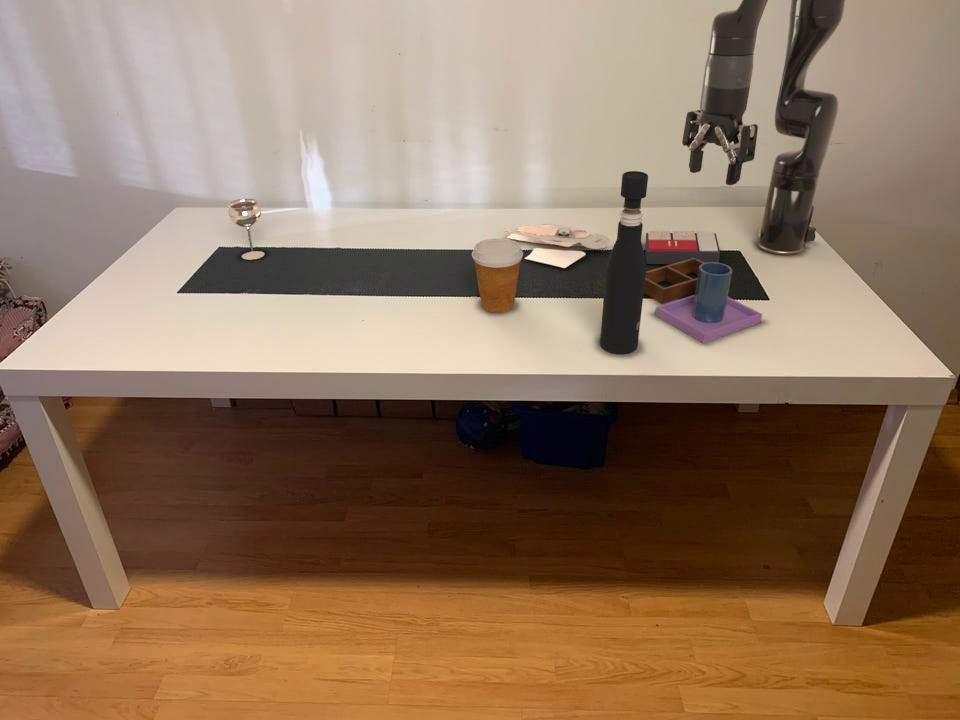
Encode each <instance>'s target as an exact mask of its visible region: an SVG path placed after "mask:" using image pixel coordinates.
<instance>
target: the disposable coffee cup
mask: <svg viewBox="0 0 960 720" xmlns="http://www.w3.org/2000/svg"><path fill="white" fill-rule="evenodd" d="M523 256H524V252H523V250H522V247H521V244H520V243H519V242H517V241H515V240H514V239H510V238H499V237H496V238H494V237H493V238H487V239H483V240H481V241H478V242H476V244H474V246H473V250H472V252H471V257H472V259H473V261H474V265H475V266H474V267H475V273H476V279H477V286H478V292H479V298H480V305H481V308H482V309H483V310H484V311H487V312H490V313H498V314H499V313H504V312H505V313H506V312H509V311H511V310H513V308H514V306H515V302H516V301H515V300H516V293H517V288H518V287H517V286H518V280H519V273H520V266H521V261H522V258H523Z"/></svg>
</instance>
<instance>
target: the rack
mask: <svg viewBox="0 0 960 720" xmlns="http://www.w3.org/2000/svg"><path fill="white" fill-rule="evenodd" d="M703 263H705V262H703V261H701V260H698V259H696V258H691V259H688V260H684V261H681V262H677V263H674V264H666V265H664V266H660V267H656V268H654V269H650V270H646V276H645V285H644V294H643V295H646V296H648V297H650V298H651V299H653V300H655V301H657V302H658V303H660V304H661V305H664V304H667V303H670V302H673V301H676V300H679V299H682V298H686V297H689V296H692V295H695V291H696V284H697V278H698V277H695V278H693V277H691V276H689V275H688V274H691V273H693V274H694V275H697V276H698V271H699V266H700V265H701V264H703ZM661 282H666V283H668V284H670V285H669V286H665V287H664V286H662V285H660V284H659V283H661Z"/></svg>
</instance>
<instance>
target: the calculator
mask: <svg viewBox="0 0 960 720" xmlns="http://www.w3.org/2000/svg"><path fill="white" fill-rule="evenodd" d="M720 257H721V249H720V245H719V241H718V237H717V233H716V232H714V231H694V230H673V231H672V232H671V231H670V230H649V231H648V232H646V233H645V262H646V265H670V264H674V263H677V262H681V261H684V260H688V259H691V258H696V259H698V260H701V261H703V262H705V263H708V262H716V263H720Z"/></svg>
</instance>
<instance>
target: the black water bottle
mask: <svg viewBox="0 0 960 720" xmlns="http://www.w3.org/2000/svg"><path fill="white" fill-rule="evenodd" d="M648 183H649V175H648V173H646V172H643V171H637V170H630V171H624V172H623V173H622V175H621V186H620V196H621V197H622V198H624V202H623V209H622V210H621V213H620V219H619V221H618V223H617V233H616V234H617V236H616V240H615V242H614V245H613V246H612V249H611V251H610V253H609V256H608V259H607V263H606V267H605V277H604V289H603V300H602V301H603V302H602V314H601V327H600V338H599V345H600V348H601V349H602V350H603V351H605V352H607V353H610V354H613V355H622V356H623V355H628V354H632V353H634V352H636V350H637V349H638V345H639V337H640V327H641V319H642V309H643V301H644V295H645V294H644V285H645V276H646V271H647V264H646V254H645V249H644V246H643V242H642V236H643V223H642V221H643V219H642V218H643V213H642V211H641V209H642V206H641V205H642V199H645V198H646V197H647V191H648Z"/></svg>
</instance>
